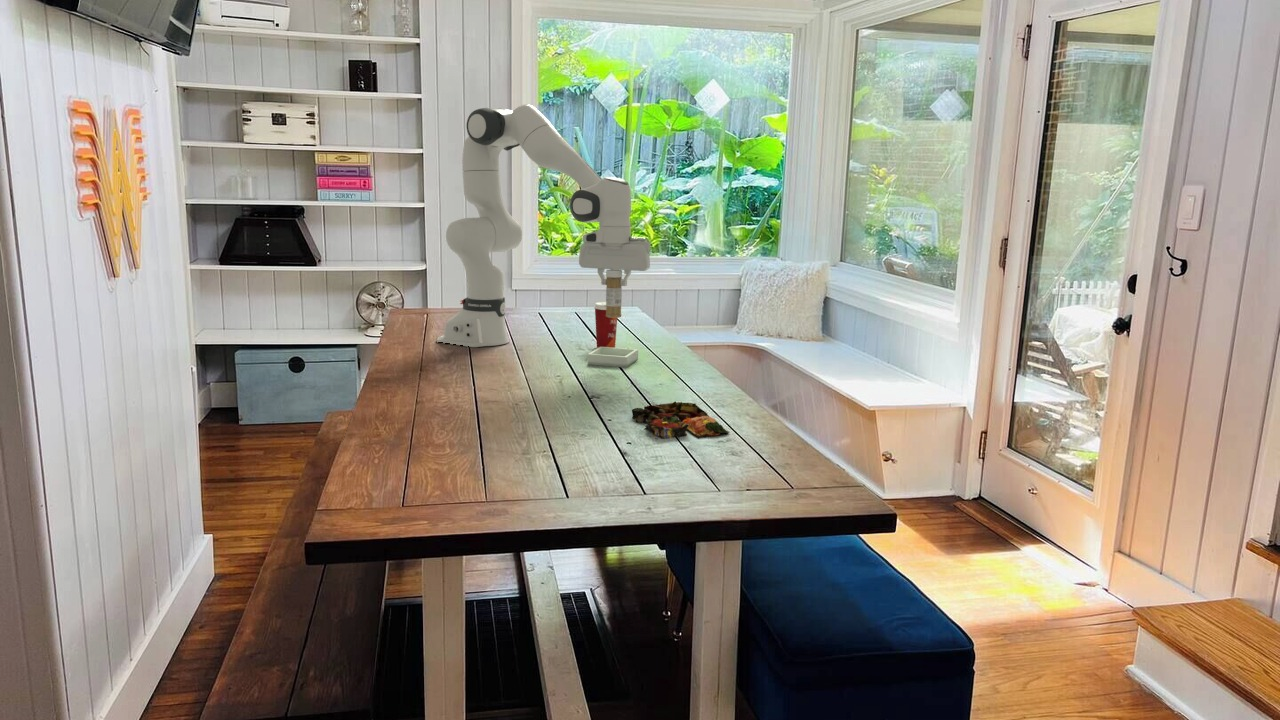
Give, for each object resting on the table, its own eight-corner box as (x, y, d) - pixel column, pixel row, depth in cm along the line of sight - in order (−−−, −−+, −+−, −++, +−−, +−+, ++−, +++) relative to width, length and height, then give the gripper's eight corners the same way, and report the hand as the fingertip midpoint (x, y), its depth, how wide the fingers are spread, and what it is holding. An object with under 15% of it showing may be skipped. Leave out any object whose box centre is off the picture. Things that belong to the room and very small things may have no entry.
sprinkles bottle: (617, 315, 267) (618, 268, 264) (624, 317, 263) (624, 270, 260) (602, 316, 265) (603, 269, 262) (609, 318, 261) (610, 271, 258)
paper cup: (617, 351, 282) (618, 305, 279) (592, 350, 282) (593, 305, 279) (618, 346, 290) (619, 301, 287) (594, 345, 290) (594, 301, 287)
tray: (587, 364, 263) (587, 354, 262) (600, 356, 274) (600, 346, 273) (626, 367, 260) (626, 357, 259) (637, 359, 271) (638, 349, 270)
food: (621, 416, 212) (622, 401, 211) (696, 412, 219) (697, 397, 218) (656, 444, 192) (657, 428, 191) (737, 438, 198) (738, 422, 198)
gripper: (653, 237, 259) (652, 285, 262) (584, 233, 265) (584, 281, 268) (647, 238, 253) (646, 288, 256) (577, 235, 259) (576, 284, 262)
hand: (614, 285), depth 262 cm, fingers closed on sprinkles bottle, 4 cm apart
